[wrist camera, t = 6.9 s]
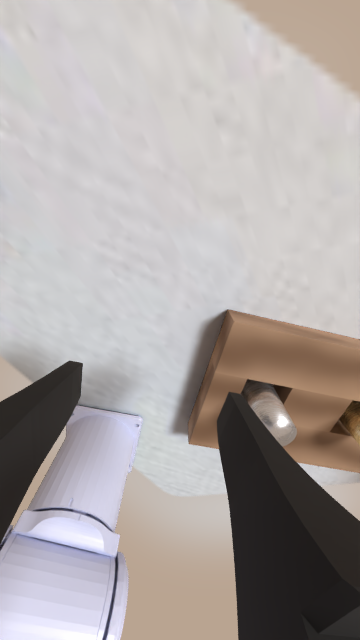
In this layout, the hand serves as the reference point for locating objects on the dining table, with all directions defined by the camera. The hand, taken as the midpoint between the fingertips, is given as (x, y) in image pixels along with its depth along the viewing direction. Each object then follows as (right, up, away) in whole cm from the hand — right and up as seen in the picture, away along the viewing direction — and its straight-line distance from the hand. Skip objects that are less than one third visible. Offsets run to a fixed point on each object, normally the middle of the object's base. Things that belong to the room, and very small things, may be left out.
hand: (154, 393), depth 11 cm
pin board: (+13, -4, +12) cm, 18 cm away
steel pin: (+9, -3, +11) cm, 15 cm away
